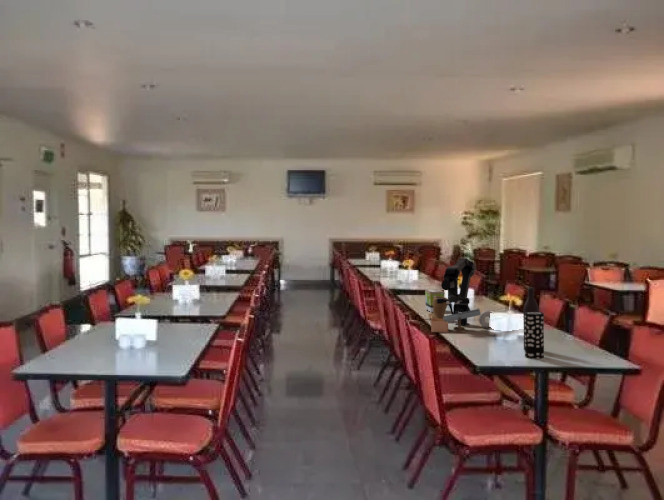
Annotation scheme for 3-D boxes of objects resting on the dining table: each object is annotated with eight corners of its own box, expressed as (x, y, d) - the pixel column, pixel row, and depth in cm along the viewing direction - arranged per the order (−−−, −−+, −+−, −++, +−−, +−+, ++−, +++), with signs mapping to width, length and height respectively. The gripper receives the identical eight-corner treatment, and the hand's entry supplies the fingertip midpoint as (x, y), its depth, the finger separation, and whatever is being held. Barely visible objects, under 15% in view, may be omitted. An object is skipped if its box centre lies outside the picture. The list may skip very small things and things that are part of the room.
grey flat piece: (478, 311, 392) (477, 306, 392) (480, 315, 376) (479, 309, 376) (443, 318, 395) (442, 313, 395) (444, 322, 379) (442, 317, 379)
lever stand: (464, 328, 389) (464, 314, 389) (465, 332, 374) (465, 318, 374) (453, 328, 390) (453, 314, 390) (454, 332, 375) (454, 318, 375)
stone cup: (449, 321, 418) (449, 297, 417) (430, 321, 419) (429, 297, 418) (446, 317, 433) (446, 294, 432) (427, 318, 434) (427, 295, 433)
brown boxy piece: (447, 329, 388) (447, 315, 388) (448, 332, 378) (448, 318, 378) (431, 329, 390) (431, 315, 390) (431, 332, 379) (430, 318, 379)
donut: (494, 327, 392) (494, 310, 392) (496, 327, 389) (496, 310, 389) (477, 327, 391) (477, 310, 390) (480, 328, 387) (480, 311, 387)
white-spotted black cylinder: (522, 355, 309) (521, 312, 309) (539, 354, 310) (539, 311, 309) (528, 359, 301) (528, 314, 300) (546, 358, 302) (546, 314, 301)
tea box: (425, 310, 473) (424, 289, 472) (439, 309, 474) (438, 288, 473) (430, 313, 458) (430, 291, 457) (444, 312, 459) (444, 290, 459)
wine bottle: (522, 349, 325) (521, 287, 323) (536, 348, 324) (536, 286, 323) (525, 351, 317) (525, 288, 316) (541, 351, 317) (540, 288, 316)
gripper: (436, 290, 385) (436, 317, 385) (469, 290, 382) (470, 317, 383) (436, 288, 396) (436, 314, 396) (468, 288, 393) (469, 314, 394)
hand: (453, 315), depth 392 cm, fingers closed
